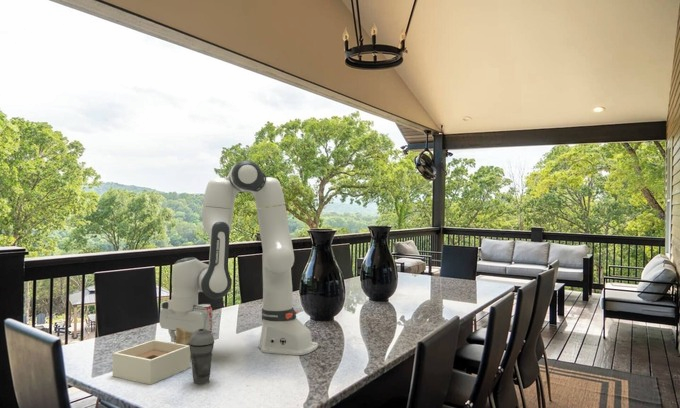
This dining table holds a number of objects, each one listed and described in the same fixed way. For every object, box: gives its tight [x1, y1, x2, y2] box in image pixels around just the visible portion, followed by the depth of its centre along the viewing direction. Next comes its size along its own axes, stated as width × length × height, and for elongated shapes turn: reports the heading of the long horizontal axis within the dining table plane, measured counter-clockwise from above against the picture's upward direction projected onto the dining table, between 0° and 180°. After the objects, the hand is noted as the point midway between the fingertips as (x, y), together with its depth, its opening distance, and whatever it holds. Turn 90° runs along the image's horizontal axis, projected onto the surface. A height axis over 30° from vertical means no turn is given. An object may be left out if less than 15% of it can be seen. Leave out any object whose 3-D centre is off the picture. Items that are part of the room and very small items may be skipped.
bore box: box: [112, 339, 191, 385], centre depth 141 cm, size 16×16×7 cm
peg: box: [175, 328, 193, 357], centre depth 157 cm, size 4×4×10 cm
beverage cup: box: [189, 314, 215, 386], centre depth 133 cm, size 7×7×20 cm
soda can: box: [198, 303, 213, 334], centre depth 184 cm, size 7×7×12 cm
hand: (184, 343), depth 157 cm, fingers open, 8 cm apart
